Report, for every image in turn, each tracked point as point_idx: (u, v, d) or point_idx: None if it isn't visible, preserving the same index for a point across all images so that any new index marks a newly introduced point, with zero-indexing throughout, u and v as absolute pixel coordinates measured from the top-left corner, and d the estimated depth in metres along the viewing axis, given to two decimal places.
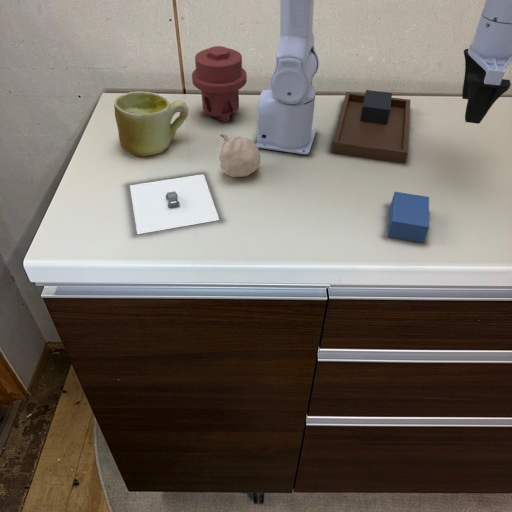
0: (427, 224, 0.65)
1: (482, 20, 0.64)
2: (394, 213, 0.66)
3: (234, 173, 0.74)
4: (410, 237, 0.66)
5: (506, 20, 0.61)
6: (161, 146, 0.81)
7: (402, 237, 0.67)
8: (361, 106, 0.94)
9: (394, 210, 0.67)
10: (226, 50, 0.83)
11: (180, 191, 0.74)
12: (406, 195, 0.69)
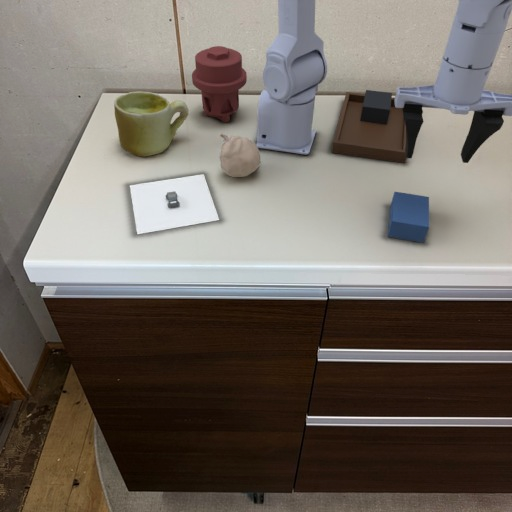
0: (427, 224, 0.65)
1: None
2: (394, 213, 0.66)
3: (234, 173, 0.74)
4: (410, 237, 0.66)
5: (456, 62, 0.55)
6: (161, 146, 0.81)
7: (402, 237, 0.67)
8: (361, 106, 0.94)
9: (394, 210, 0.67)
10: (226, 50, 0.83)
11: (180, 191, 0.74)
12: (406, 195, 0.69)
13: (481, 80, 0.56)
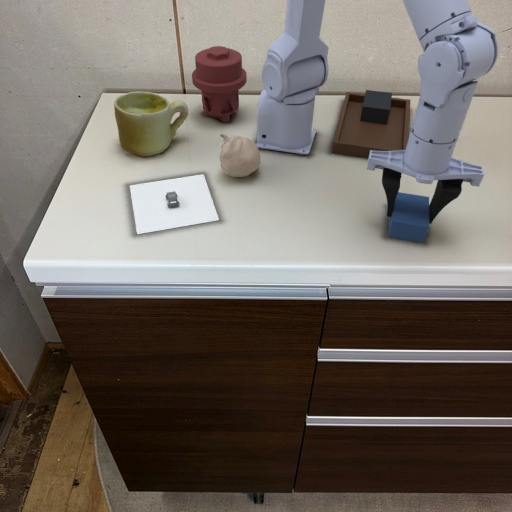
0: (427, 224, 0.65)
1: None
2: (394, 213, 0.66)
3: (234, 173, 0.74)
4: (410, 237, 0.66)
5: (419, 135, 0.57)
6: (161, 146, 0.81)
7: (402, 237, 0.67)
8: (361, 106, 0.94)
9: (394, 210, 0.67)
10: (226, 50, 0.83)
11: (180, 191, 0.74)
12: (406, 195, 0.69)
13: (446, 154, 0.58)
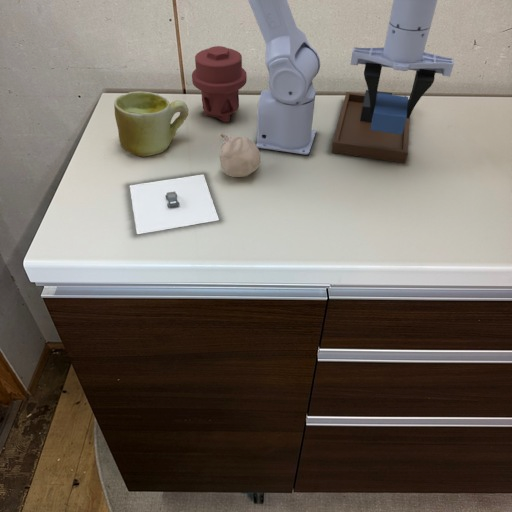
0: (405, 115, 0.72)
1: None
2: (376, 107, 0.74)
3: (234, 173, 0.74)
4: (390, 129, 0.74)
5: (407, 27, 0.64)
6: (161, 146, 0.81)
7: (383, 129, 0.74)
8: (361, 106, 0.94)
9: (376, 105, 0.74)
10: (226, 50, 0.83)
11: (180, 191, 0.74)
12: (388, 95, 0.77)
13: (419, 41, 0.65)
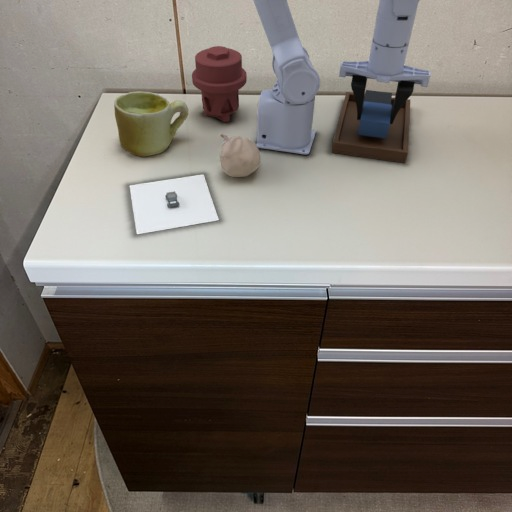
0: (388, 121, 0.81)
1: None
2: (362, 114, 0.82)
3: (234, 173, 0.74)
4: (375, 134, 0.82)
5: (396, 45, 0.72)
6: (161, 146, 0.81)
7: (369, 134, 0.83)
8: None
9: (362, 113, 0.83)
10: (226, 50, 0.83)
11: (179, 191, 0.74)
12: (373, 103, 0.85)
13: (399, 57, 0.74)
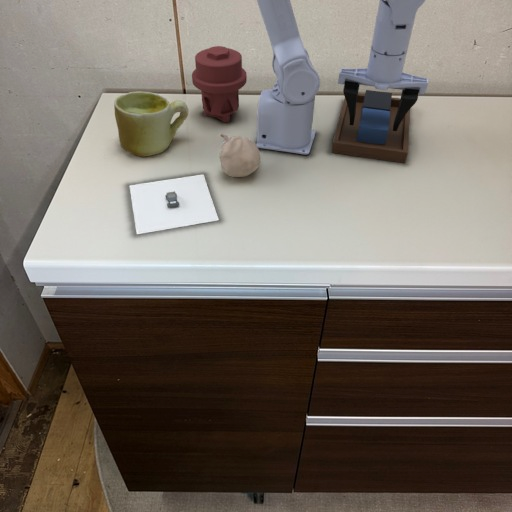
0: (387, 128, 0.82)
1: None
2: (361, 121, 0.83)
3: (234, 173, 0.74)
4: (374, 140, 0.83)
5: (394, 53, 0.73)
6: (161, 146, 0.81)
7: (367, 140, 0.84)
8: (361, 106, 0.94)
9: (361, 119, 0.84)
10: (226, 50, 0.83)
11: (179, 191, 0.74)
12: (372, 110, 0.86)
13: (397, 65, 0.75)
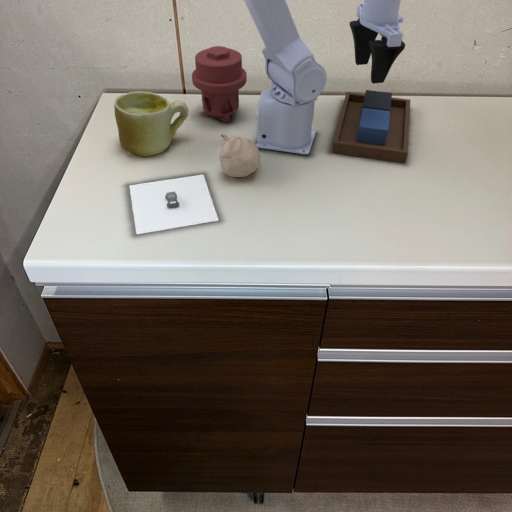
0: (387, 128, 0.82)
1: None
2: (361, 121, 0.83)
3: (234, 173, 0.74)
4: (374, 140, 0.83)
5: None
6: (161, 146, 0.81)
7: (367, 140, 0.84)
8: (361, 106, 0.94)
9: (361, 119, 0.84)
10: (226, 50, 0.83)
11: (179, 191, 0.74)
12: (372, 110, 0.86)
13: None
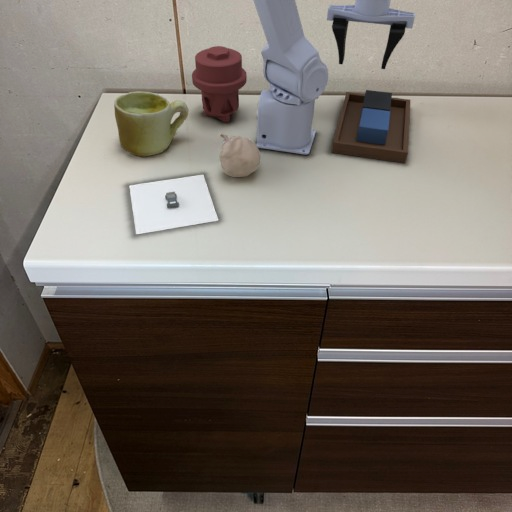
0: (387, 128, 0.82)
1: None
2: (361, 121, 0.83)
3: (234, 173, 0.74)
4: (374, 140, 0.83)
5: None
6: (161, 146, 0.81)
7: (367, 140, 0.84)
8: (361, 106, 0.94)
9: (361, 119, 0.84)
10: (226, 50, 0.83)
11: (179, 191, 0.74)
12: (372, 110, 0.86)
13: None
